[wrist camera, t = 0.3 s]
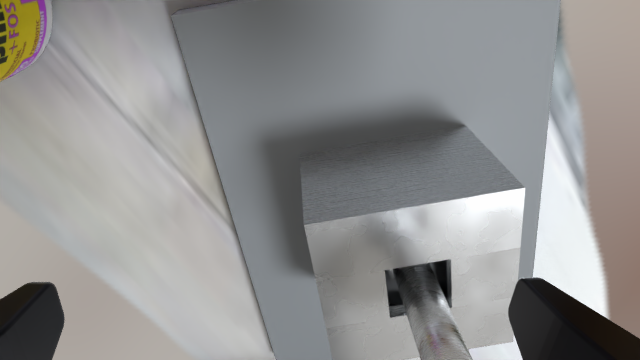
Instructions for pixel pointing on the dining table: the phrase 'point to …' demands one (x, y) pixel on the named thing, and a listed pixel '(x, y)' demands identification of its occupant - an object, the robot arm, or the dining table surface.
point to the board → (356, 112)
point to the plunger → (427, 309)
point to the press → (411, 236)
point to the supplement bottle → (23, 33)
